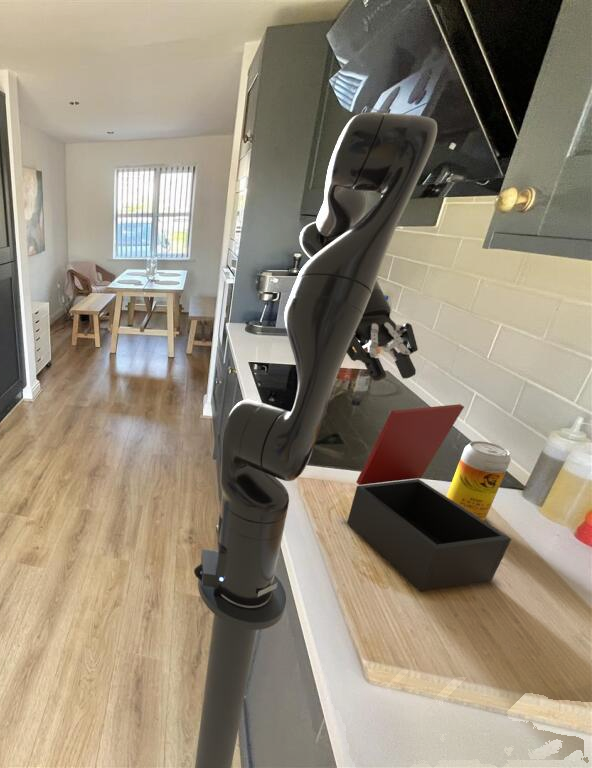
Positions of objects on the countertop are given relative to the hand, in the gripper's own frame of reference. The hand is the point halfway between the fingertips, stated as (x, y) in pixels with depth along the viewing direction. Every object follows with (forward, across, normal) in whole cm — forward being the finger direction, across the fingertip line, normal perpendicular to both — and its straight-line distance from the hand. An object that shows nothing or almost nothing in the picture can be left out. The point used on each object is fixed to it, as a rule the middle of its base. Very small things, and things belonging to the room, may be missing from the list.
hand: (395, 377), depth 71 cm
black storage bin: (+29, 0, +11) cm, 31 cm away
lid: (+12, 0, +3) cm, 13 cm away
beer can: (+24, +17, +16) cm, 34 cm away
